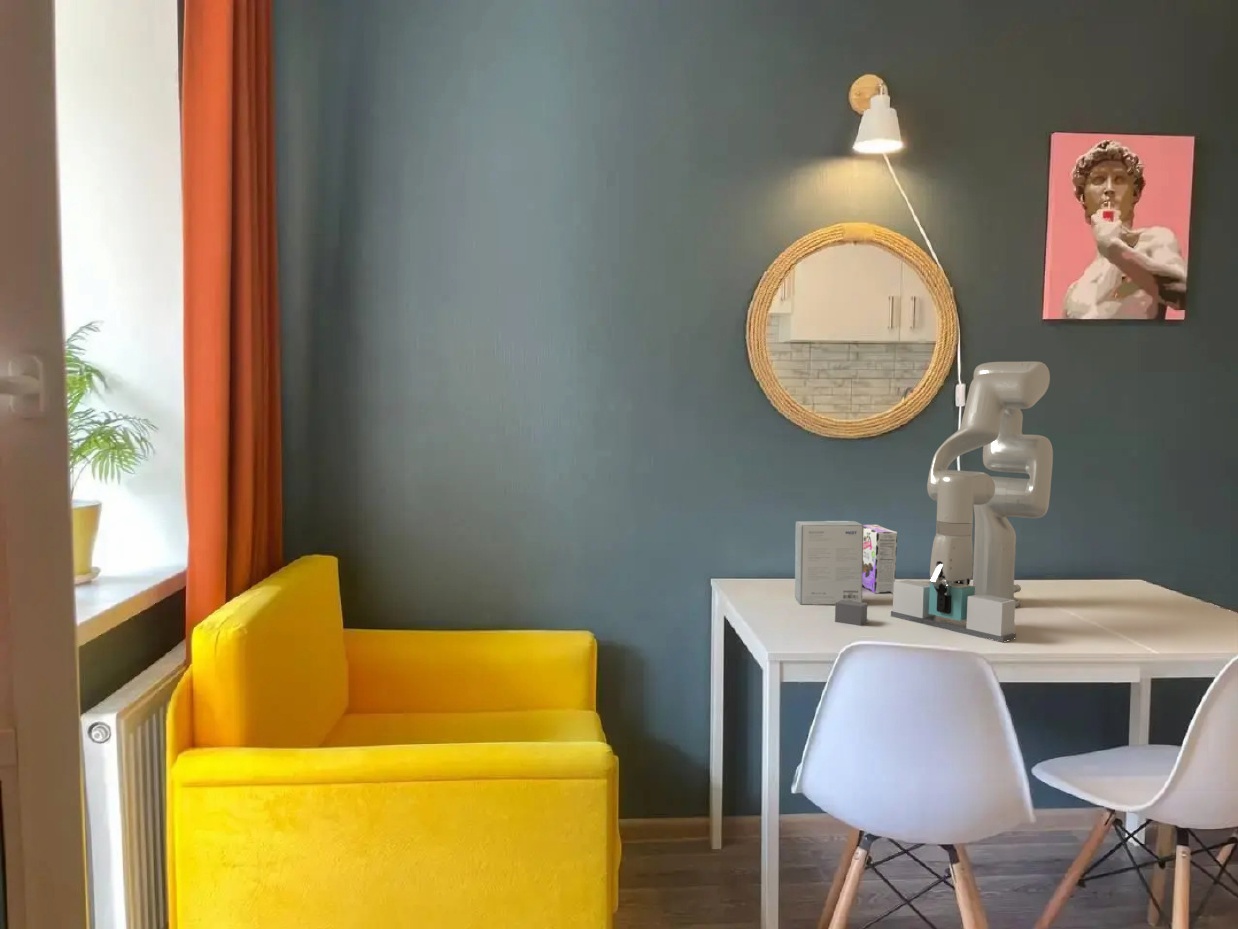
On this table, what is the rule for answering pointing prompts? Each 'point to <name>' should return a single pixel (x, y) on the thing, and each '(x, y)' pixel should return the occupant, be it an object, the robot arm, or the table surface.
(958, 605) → the block
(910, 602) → the block
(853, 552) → the hard drive box
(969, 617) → the block
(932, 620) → the rail
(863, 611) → the dark grey block
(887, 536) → the candy box
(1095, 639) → the table surface
